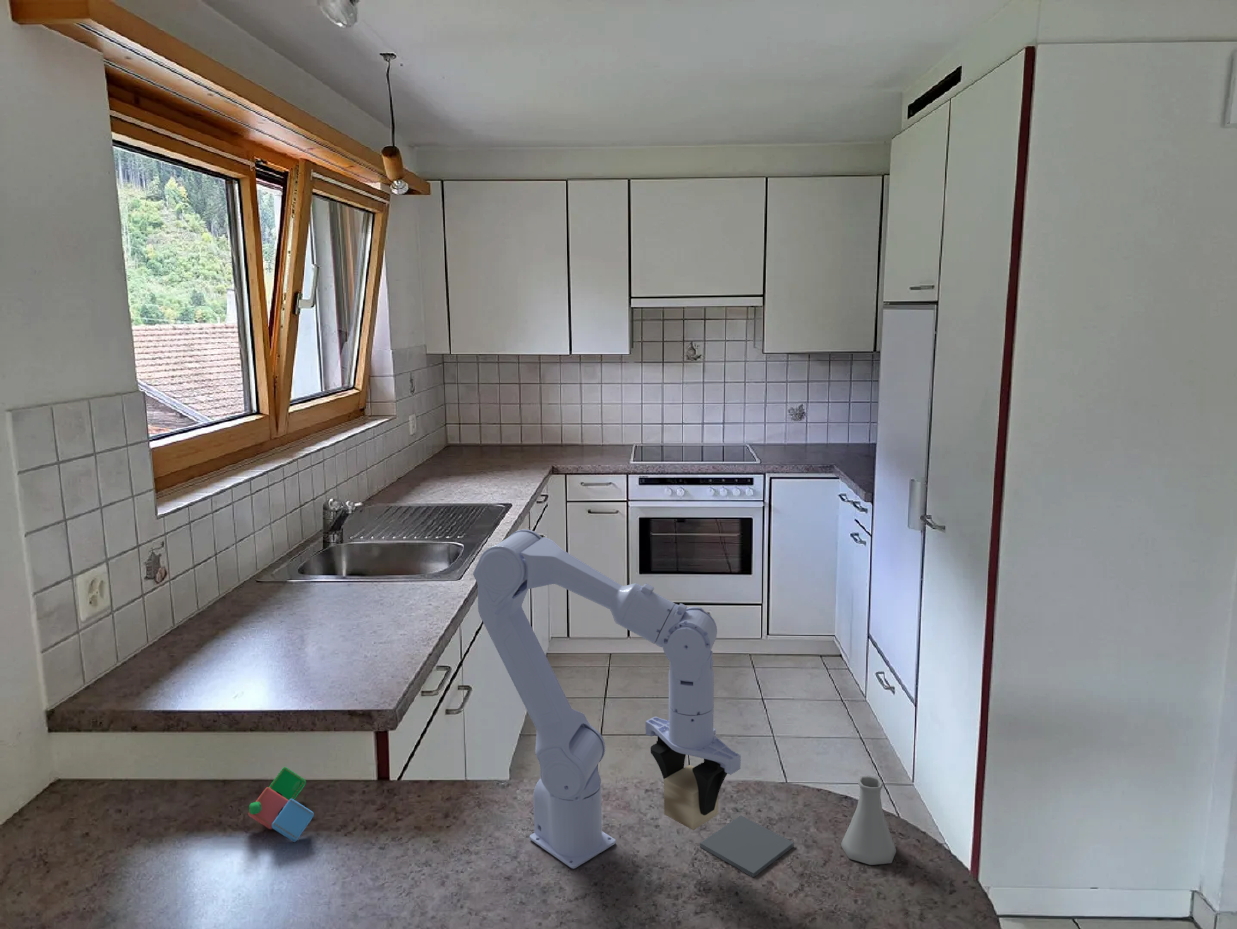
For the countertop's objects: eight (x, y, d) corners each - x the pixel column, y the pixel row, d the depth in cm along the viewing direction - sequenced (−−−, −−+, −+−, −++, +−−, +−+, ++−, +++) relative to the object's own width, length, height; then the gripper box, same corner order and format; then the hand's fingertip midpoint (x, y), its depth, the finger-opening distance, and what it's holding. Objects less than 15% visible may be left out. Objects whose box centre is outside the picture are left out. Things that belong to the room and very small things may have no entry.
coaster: (700, 847, 114) (700, 843, 114) (740, 819, 120) (740, 815, 120) (753, 877, 108) (753, 873, 107) (793, 846, 114) (793, 842, 114)
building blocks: (292, 847, 123) (296, 840, 113) (246, 817, 123) (245, 808, 113) (327, 798, 128) (333, 787, 118) (282, 768, 127) (284, 756, 117)
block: (664, 814, 109) (664, 779, 109) (689, 799, 113) (689, 764, 112) (693, 830, 106) (693, 794, 105) (718, 814, 109) (718, 778, 108)
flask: (899, 870, 109) (902, 799, 107) (842, 863, 110) (844, 794, 108) (893, 836, 116) (895, 769, 114) (839, 831, 117) (841, 765, 115)
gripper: (756, 713, 104) (754, 812, 107) (670, 678, 115) (670, 770, 117) (720, 733, 99) (719, 836, 102) (633, 695, 110) (635, 790, 112)
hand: (691, 802), depth 109 cm, fingers closed on block, 5 cm apart
